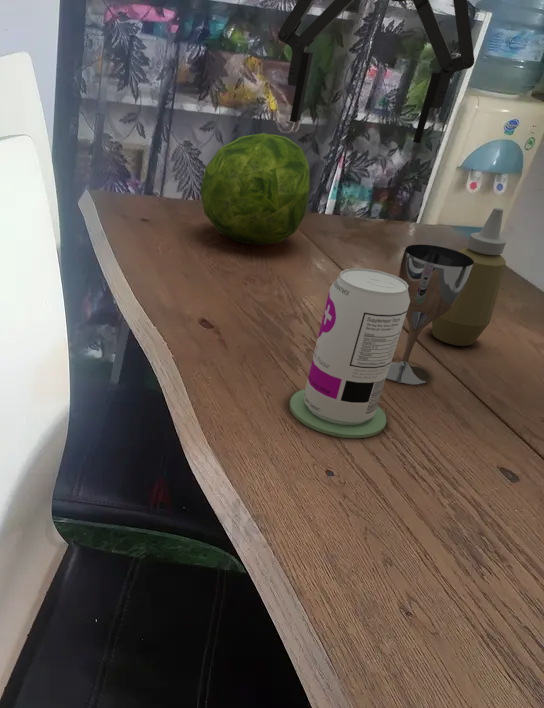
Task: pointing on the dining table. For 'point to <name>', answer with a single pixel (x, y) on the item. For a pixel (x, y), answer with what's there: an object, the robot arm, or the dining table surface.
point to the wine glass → (428, 297)
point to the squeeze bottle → (476, 287)
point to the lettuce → (257, 189)
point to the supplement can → (356, 345)
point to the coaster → (334, 429)
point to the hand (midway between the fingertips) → (354, 130)
